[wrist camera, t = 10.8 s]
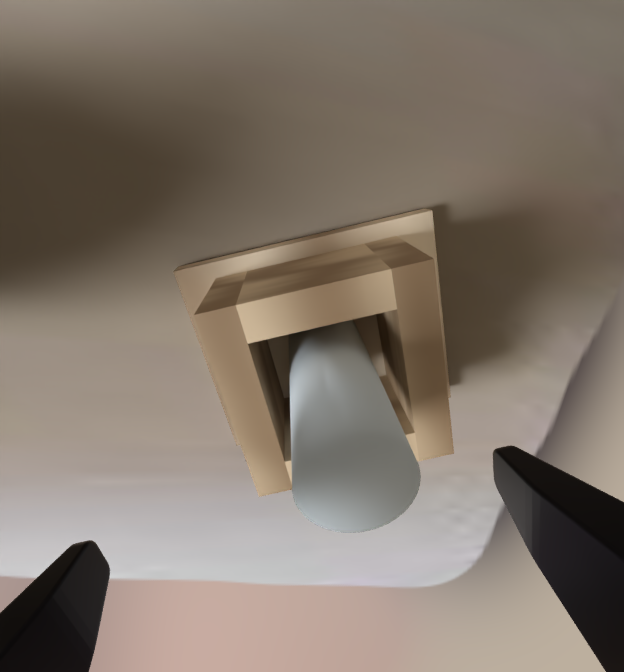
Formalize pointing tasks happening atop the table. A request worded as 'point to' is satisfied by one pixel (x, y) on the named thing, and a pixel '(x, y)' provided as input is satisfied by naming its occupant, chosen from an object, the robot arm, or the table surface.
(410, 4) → the table surface
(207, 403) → the table surface
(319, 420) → the peg
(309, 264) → the bottle holder
